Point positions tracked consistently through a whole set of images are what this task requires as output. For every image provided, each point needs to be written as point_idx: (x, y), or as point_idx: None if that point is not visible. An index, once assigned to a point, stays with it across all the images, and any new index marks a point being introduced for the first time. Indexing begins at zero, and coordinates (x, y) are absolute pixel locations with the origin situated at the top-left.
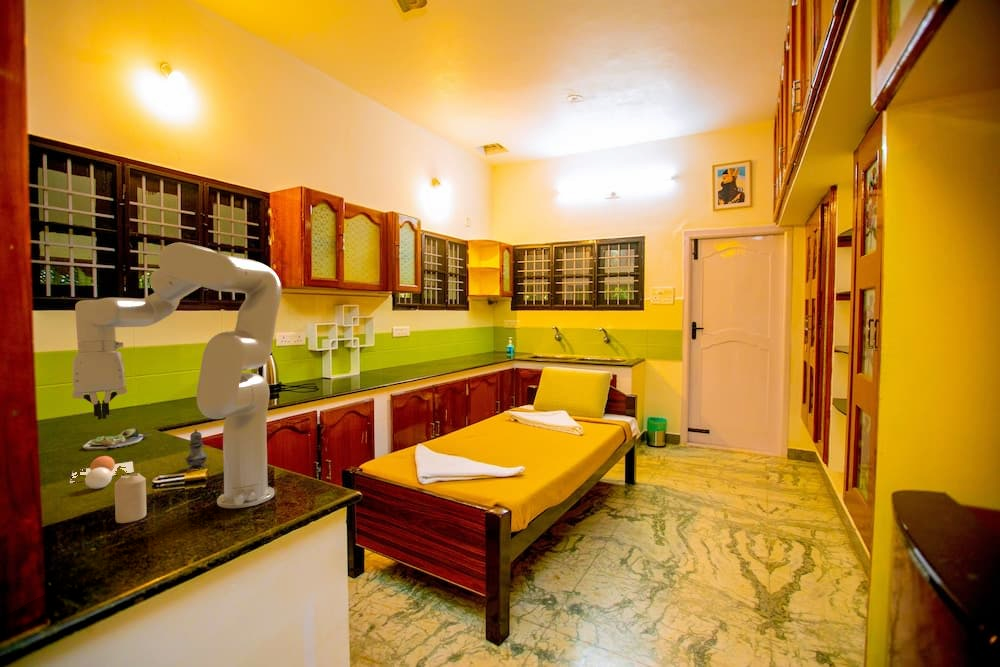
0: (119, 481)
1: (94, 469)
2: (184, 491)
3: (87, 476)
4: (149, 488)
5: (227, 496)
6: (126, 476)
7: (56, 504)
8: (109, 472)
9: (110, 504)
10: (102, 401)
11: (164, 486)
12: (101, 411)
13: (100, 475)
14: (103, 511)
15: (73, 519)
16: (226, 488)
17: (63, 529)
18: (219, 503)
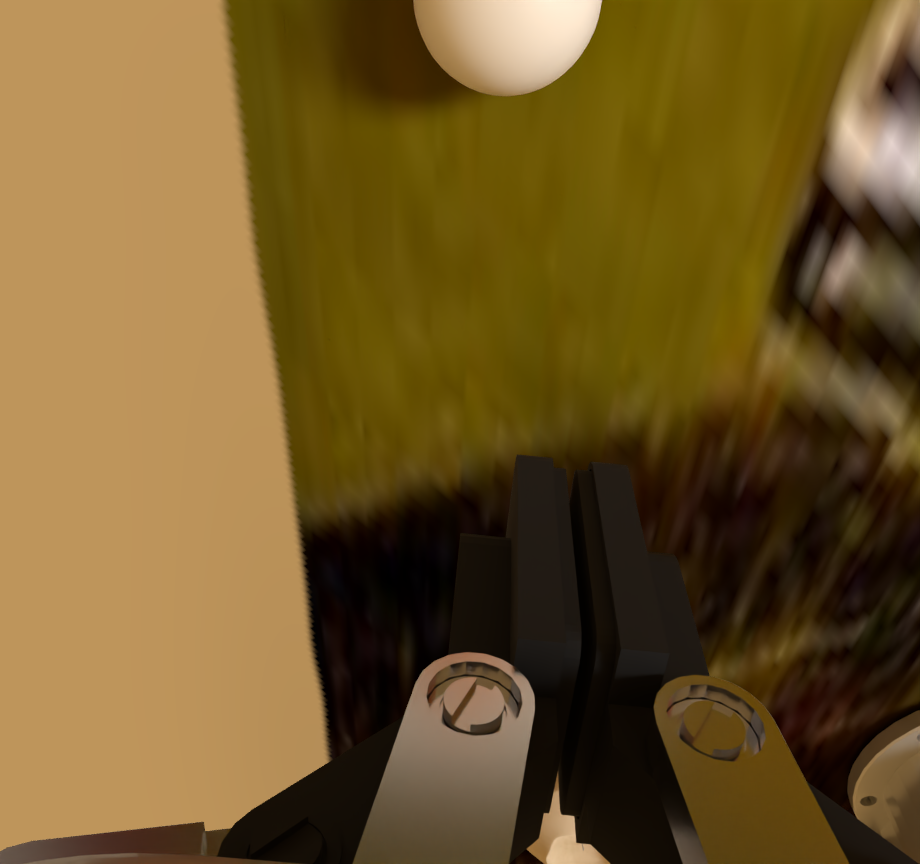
0: (534, 855)
1: (477, 14)
2: (860, 497)
3: (426, 33)
4: (754, 289)
5: (891, 821)
6: (571, 832)
7: (275, 212)
8: (582, 44)
9: (523, 439)
10: (590, 837)
11: (832, 316)
12: (569, 537)
13: (513, 89)
14: (485, 520)
15: (371, 535)
16: (907, 850)
17: (343, 621)
18: (852, 794)
